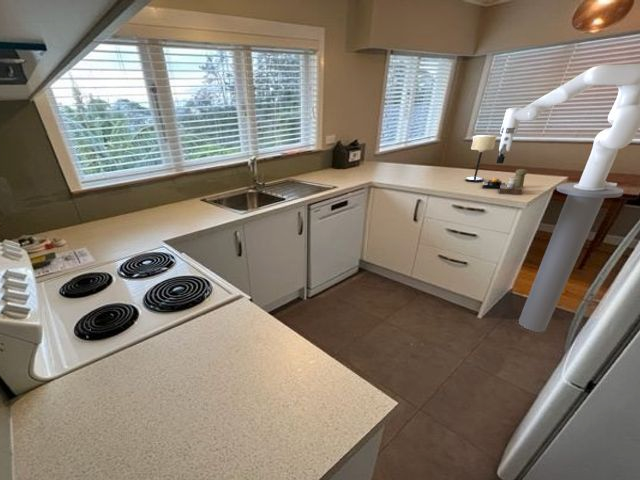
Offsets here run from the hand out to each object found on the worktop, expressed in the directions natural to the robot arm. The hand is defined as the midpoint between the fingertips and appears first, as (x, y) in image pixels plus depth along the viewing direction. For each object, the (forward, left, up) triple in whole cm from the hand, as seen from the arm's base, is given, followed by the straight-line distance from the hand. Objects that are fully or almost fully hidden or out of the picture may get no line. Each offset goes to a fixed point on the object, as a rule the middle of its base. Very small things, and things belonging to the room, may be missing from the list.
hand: (499, 163), depth 181 cm
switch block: (0, 0, -15) cm, 15 cm away
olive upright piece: (-12, -3, -15) cm, 19 cm away
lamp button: (0, 0, -11) cm, 11 cm away
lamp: (+11, -16, -15) cm, 24 cm away
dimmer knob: (-8, +10, -12) cm, 18 cm away
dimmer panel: (-8, +10, -15) cm, 20 cm away
